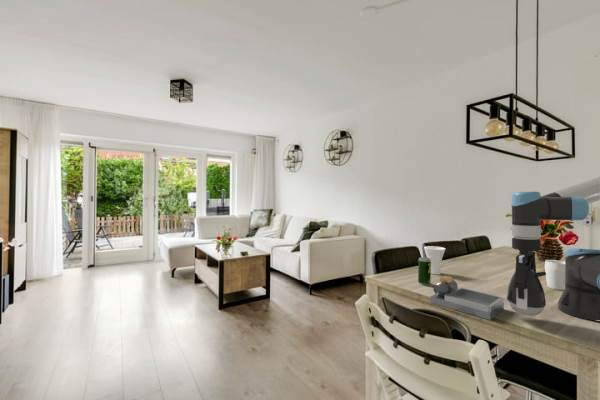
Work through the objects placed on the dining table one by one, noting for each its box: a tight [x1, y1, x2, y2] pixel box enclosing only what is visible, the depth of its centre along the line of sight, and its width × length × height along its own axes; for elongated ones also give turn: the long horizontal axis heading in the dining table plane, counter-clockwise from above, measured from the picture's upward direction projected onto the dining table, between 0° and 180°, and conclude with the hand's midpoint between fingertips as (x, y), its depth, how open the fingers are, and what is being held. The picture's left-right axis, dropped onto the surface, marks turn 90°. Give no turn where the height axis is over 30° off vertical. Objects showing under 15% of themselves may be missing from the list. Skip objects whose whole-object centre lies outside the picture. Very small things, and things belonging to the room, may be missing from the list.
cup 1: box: [423, 245, 446, 275], centre depth 154 cm, size 10×10×14 cm
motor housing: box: [429, 275, 505, 321], centre depth 108 cm, size 20×15×9 cm
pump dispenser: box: [506, 269, 547, 317], centre depth 96 cm, size 10×10×15 cm
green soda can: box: [417, 256, 432, 286], centre depth 135 cm, size 5×5×12 cm
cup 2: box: [544, 259, 565, 291], centre depth 131 cm, size 9×9×12 cm
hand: (526, 304), depth 96 cm, fingers closed on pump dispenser, 10 cm apart
